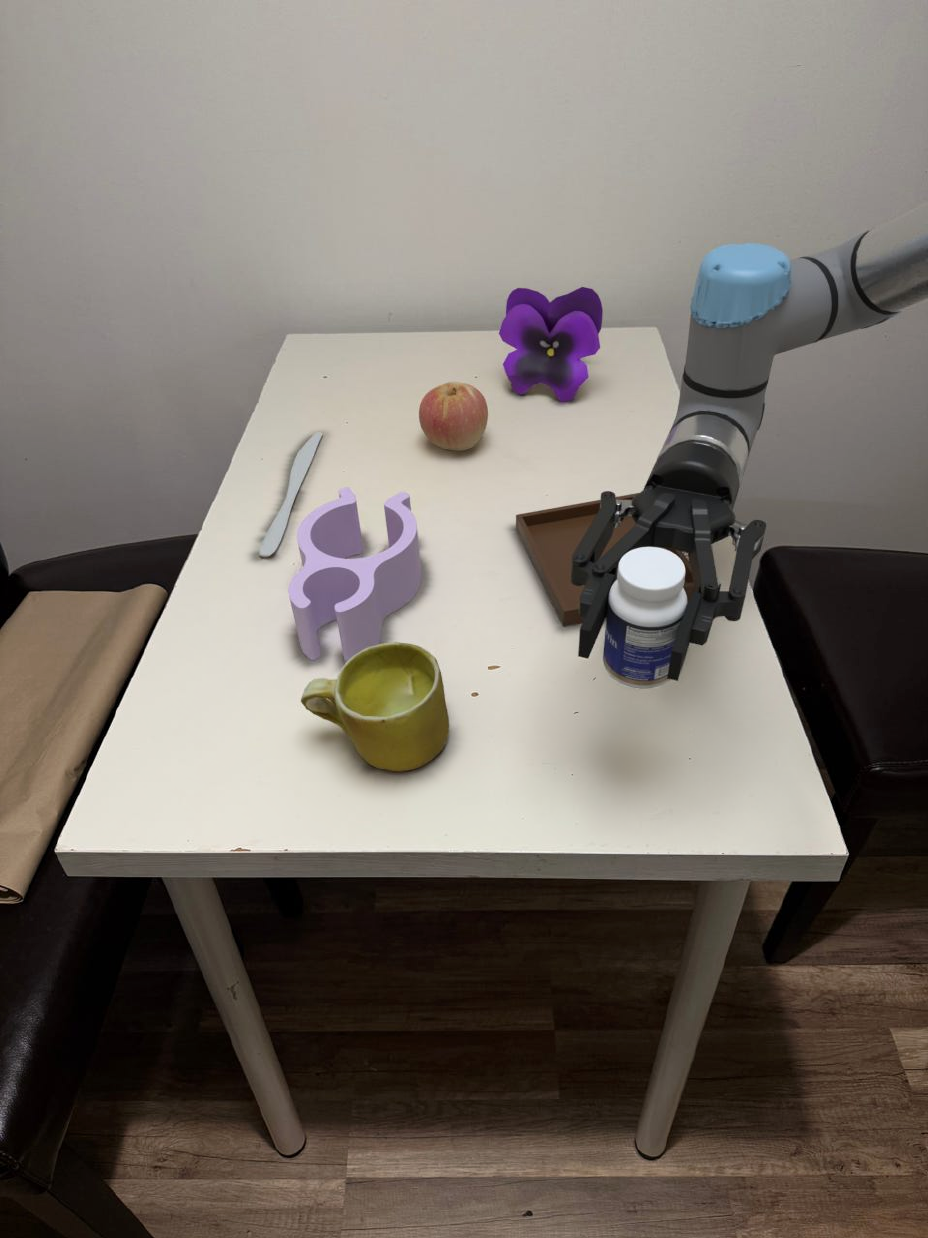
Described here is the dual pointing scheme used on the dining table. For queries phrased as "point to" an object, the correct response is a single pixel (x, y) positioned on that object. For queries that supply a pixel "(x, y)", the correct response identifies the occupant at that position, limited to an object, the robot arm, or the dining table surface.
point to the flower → (551, 339)
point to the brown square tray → (570, 551)
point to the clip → (352, 573)
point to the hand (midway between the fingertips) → (628, 654)
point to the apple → (453, 416)
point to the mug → (386, 705)
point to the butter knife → (289, 496)
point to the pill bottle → (644, 617)
